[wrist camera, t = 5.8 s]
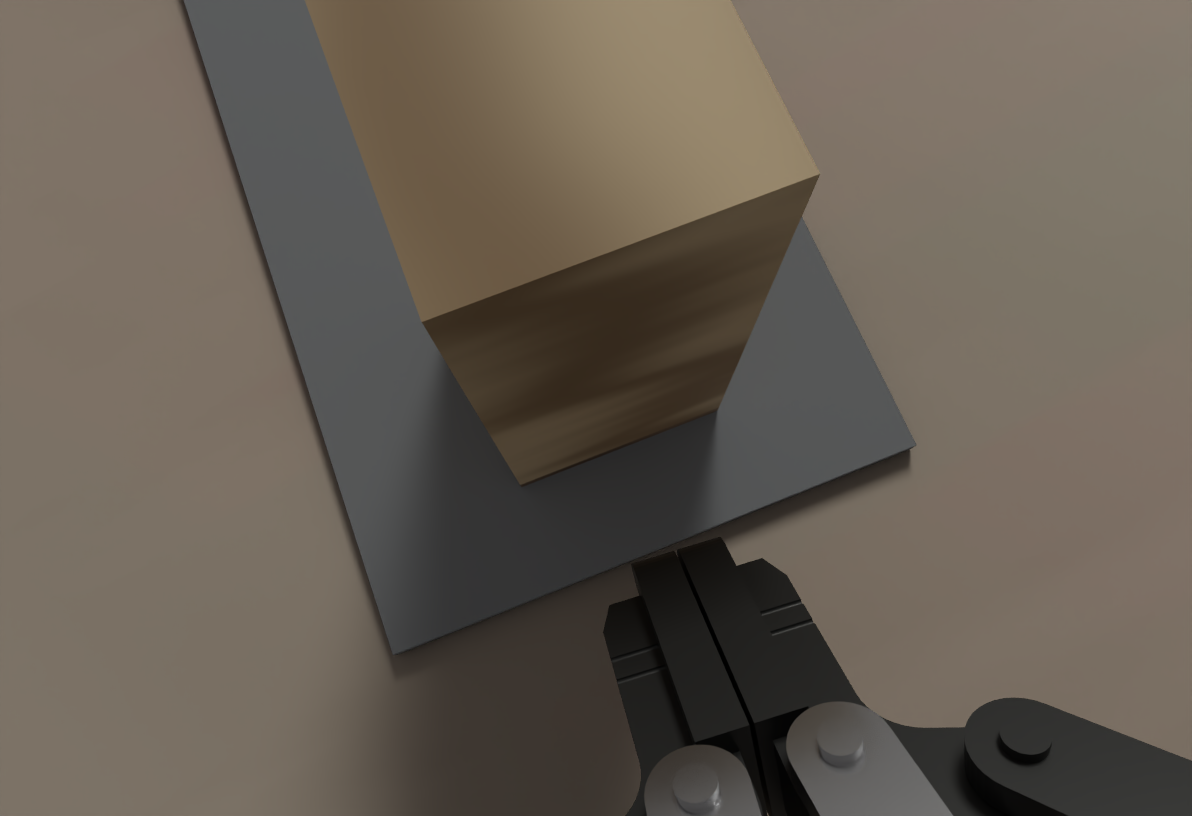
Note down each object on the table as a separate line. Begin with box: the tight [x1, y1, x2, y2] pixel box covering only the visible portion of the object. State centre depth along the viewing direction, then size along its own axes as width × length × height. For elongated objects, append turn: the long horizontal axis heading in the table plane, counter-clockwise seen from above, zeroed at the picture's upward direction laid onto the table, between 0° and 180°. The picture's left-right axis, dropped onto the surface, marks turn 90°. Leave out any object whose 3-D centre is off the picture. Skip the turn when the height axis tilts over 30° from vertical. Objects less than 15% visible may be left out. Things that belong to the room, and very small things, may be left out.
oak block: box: [305, 0, 820, 487], centre depth 16 cm, size 5×5×11 cm
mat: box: [184, 0, 916, 655], centre depth 23 cm, size 13×22×1 cm, turn 21°
